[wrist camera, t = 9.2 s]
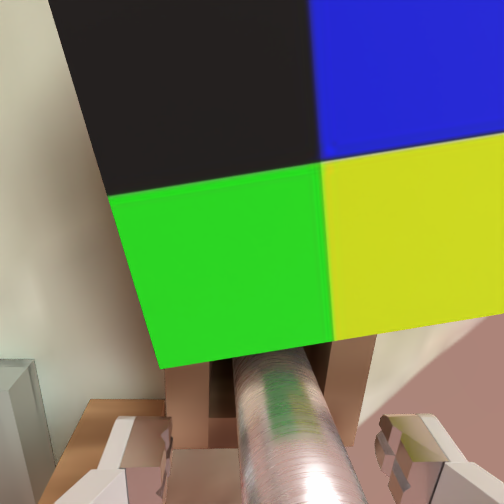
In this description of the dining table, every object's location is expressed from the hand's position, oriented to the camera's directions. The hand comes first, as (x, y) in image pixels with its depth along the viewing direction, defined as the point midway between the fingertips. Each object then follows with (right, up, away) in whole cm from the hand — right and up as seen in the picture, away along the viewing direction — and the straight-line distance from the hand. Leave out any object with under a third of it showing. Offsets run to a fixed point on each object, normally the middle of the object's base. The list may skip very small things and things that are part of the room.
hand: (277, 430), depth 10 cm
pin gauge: (-1, +2, +7) cm, 8 cm away
